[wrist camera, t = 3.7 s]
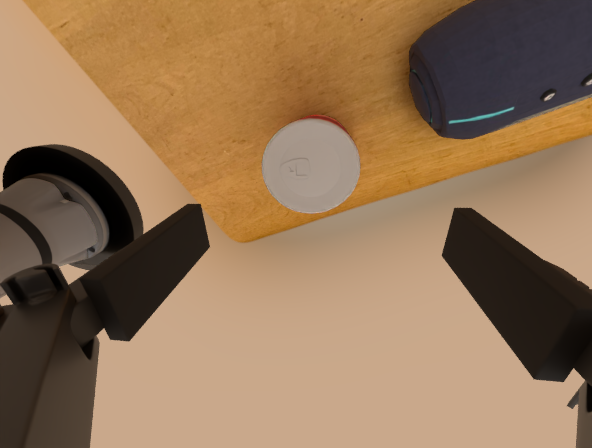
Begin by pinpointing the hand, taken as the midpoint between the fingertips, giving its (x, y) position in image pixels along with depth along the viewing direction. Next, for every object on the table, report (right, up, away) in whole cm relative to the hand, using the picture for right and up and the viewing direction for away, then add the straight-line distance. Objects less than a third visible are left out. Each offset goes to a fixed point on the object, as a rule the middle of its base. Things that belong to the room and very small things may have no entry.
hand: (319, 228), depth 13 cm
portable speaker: (+21, +17, +10) cm, 29 cm away
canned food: (+1, +9, +16) cm, 19 cm away
